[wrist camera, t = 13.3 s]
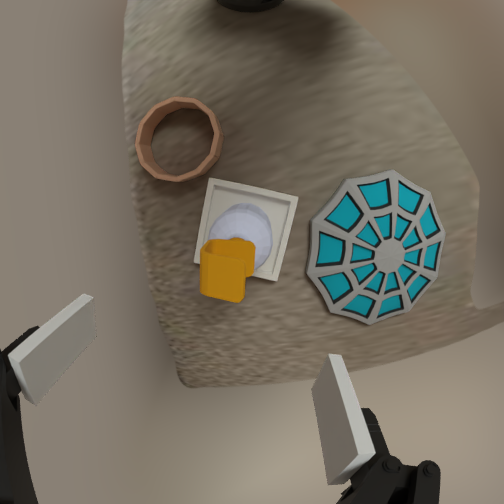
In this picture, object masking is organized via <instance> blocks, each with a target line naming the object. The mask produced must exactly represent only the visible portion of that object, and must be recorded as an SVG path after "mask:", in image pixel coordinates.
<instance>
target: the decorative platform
mask: <svg viewBox="0 0 504 504" xmlns="http://www.w3.org/2000/svg"><path fill="white" fill-rule="evenodd" d="M445 235H446V233H445V231H444V228H443V226H442V224H441V221H440V219H439V217H438V214H437V211H436V208H435V205H434V202H433V199H432V196H431V193H430V192H429V191H427V190H425V189H423V188H421V187H419V186H417V185H415V184H414V183H412V182H410V181H409V180H407V179H406V178H404V177H403V176H401V175H400V174H399V173H397V172H396V171H394V170H393V169H389V170H386V171H383V172H380V173H377V174H373V175H369V176H364V177H358V178H349V179H344V180H343V181H342V183H341V184H340V186H339V187H338V189H337V190H336V192H335V193H334V194H333V196H332V197H331V198H330V200H329V201H328V202H327V203H326V204H325V205H324V206H323V207H322V208H321V210H320V211H319V212H318V213H317V214H316V215H315V216H314V217H312V218H311V219H310V249H309V256H308V261H307V266H306V273H307V275H308V276H309V277H310V279H311V280H312V281H313V283H314V284H315V285H316V287H317V288H318V290H319V291H320V293H321V294H322V296H323V298H324V300H325V302H326V304H327V306H328V308H329V311H330V312H331V313H335V314H340V315H344V316H348V317H351V318H354V319H357V320H359V321H362V322H364V323H366V324H368V325H371V324H373V323H376V322H378V321H380V320H383V319H385V318H388V317H391V316H394V315H398V314H401V313H405V312H409V311H410V310H411V308H412V307H413V306H414V304H415V303H416V302H417V300H418V299H419V298H420V297H421V295H422V294H423V293H424V292H425V291H426V290H427V288H428V287H429V286H430V285H431V284H432V283H433V282H434V281H435V280H436V279H437V276H438V270H439V263H440V258H441V253H442V248H443V244H444V239H445Z"/></svg>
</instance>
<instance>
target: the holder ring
mask: <svg viewBox="0 0 504 504" xmlns="http://www.w3.org/2000/svg"><path fill="white" fill-rule="evenodd" d="M181 108H190V109H198V110H201V111H203V112H204V113H205V114H206V115H208V116H209V118H210V121H211V124H212V127H213V130H214V137H213V142H212V146H211V150H210V154H209V155H208V156H207V157H206V158H205V160H204V161H203V162H202V163H201V164H200V165H199V166H198V168H197V169H196V170H193V171H191V172H188V173H185V174H183V175H180V176H178V175H172V174H168V173H166V172H165V171H164V170H163V169H162V168H161V167H160V166H159V165H157V164H156V163H155V160H154V157H153V153H152V150H151V147H150V146H151V141H152V137H153V132H154V129H155V127H156V126H157V125H158V124H159V122H160V121H161V120H162V119H163V118H164V117H165V115H167V114H169V113H171V112H174V111H176V110H178V109H181ZM140 123H141V124H140ZM140 123H139V127H138V131H137V136H136V140H135V147H136V151H137V154H138V158H139V161H140V164H141V165H142V166H143V167H144V168H145V169H146V170H147V171H148V172H149V173H150V174H151V175H153V176H154V177H155V178H157V179H163V180H168V181H174V182H182V181H188V180H190V179H193V178H196V177H199V176H201V175H204V174H206V173H207V171H208V170H209V169H210V168H211V167H212V166H213V165H214V164H215V162H216V161H217V160H218V159H219V158H218V157H220V153H221V149H222V145H223V140H224V135H223V132H222V129H221V126H220V123H219V120H218V118H217V116H216V115H215V114H214V113H213V111H211V110H210V109H209V108H208V107H206V106H205V105H204V104H203V103H201V102H200V101H199V100H197V99H196V98H187V97H176V96H175V97H172V98H169V99H167V100H165V101H163V102H160V103H158V104H156V105H154V106H153V107H152V108H151V109H150V111H149V112H148V113H147V114H146V115H145V117H144V118H143V119H142V120H141V122H140Z"/></svg>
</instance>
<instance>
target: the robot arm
mask: <svg viewBox="0 0 504 504" xmlns="http://www.w3.org/2000/svg"><path fill="white" fill-rule="evenodd" d="M217 1H218V2H219V3H220V4H222V5H223V6H225V7H227V8H229V9H232V10H236V11H242V12H257V11H264V10H268V9H271V8H273V7H275V6H277V5H279V4H280V3H282V2H283V1H284V0H217ZM96 337H97V336H96V323H95V308H94V297H92V296H89V295H86V294H82V295H81V296H80V297H78V298H77V299H76V300H75V301H73V302H72V303H71V304H69V305H68V306H67V307H65V308H64V309H63V310H61V311H60V312H59V313H58V314H56V315H55V316H54V317H52V318H51V319H50V320H49V321H47V322H46V323H45V324H44V325H43V326H41V327H38V326H36V327H33V328H30V329H28V330H27V331H26V332H25V333H23V335H21V336H20V337H19V338H18V339H16V340H15V341H14V342H13V343H11V344H10V345H9V346H8V347H7V348H5V349H4V350H3V351H2V352H1V350H0V504H38V501H37V498H36V494H35V491H34V487H33V483H32V480H31V475H30V471H29V467H28V462H27V457H26V452H25V445H24V439H23V431H22V422H21V411H20V398H19V395H18V394H19V393H20V392H21V391H22V393H23V395H24V397H25V399H26V400H28V401H30V402H31V403H32V404H34V405H35V406H37V404H38V403H39V402H40V401H41V400H42V398H43V397H44V396H45V395H46V393H47V392H48V391H49V390H50V389H51V388H52V386H53V385H54V384H55V383H56V382H57V381H58V379H59V378H60V377H61V376H62V375H63V374H64V372H65V371H66V370H67V369H68V368H69V367H70V366H71V364H72V363H73V362H74V361H75V360H76V359H77V358H78V357H79V355H80V354H81V353H82V352H83V351H84V350H85V349H86V348H87V346H88V345H89V344H90V343H91V342H92V341H93V340H94V339H95V338H96ZM312 395H313V401H314V406H315V411H316V416H317V422H318V428H319V434H320V439H321V446H322V451H323V457H324V464H325V470H326V476H327V483H328V485H338V484H344V483H345V482H347V481H348V480H349V479H350V480H351V486H350V487H348V488H347V489H346V490H345V491H343V492H342V493H341V494H342V497H341V498H340V499H339V501H338V502H337V503H336V504H439V493H440V468H439V467H438V465H437V464H436V463H435V462H433V461H430V460H429V461H428V460H426V461H423V462H421V463H420V464H419V465H418V466H409V465H403V464H402V463H401V462H400V460H399V459H398V458H396V457H395V456H391V455H390V453H389V451H388V448H387V445H386V443H385V440H384V437H383V435H382V432H381V429H380V427H379V425H378V421H377V419H376V416H375V415H374V414H373V412H372V411H371V410H370V409H369V408H360V405H359V402H358V400H357V397H356V394H355V391H354V388H353V386H352V383H351V380H350V378H349V375H348V372H347V370H346V367H345V364H344V362H343V359H342V357H341V355H335V354H328V355H327V357H326V360H325V362H324V364H323V366H322V368H321V371H320V373H319V375H318V377H317V379H316V381H315V383H314V385H313V387H312Z"/></svg>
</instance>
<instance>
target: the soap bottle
mask: <svg viewBox="0 0 504 504" xmlns="http://www.w3.org/2000/svg"><path fill="white" fill-rule="evenodd" d="M272 246H273V238H272V229H271V223H270V220H269V218H268V216H267V214H266V213H265V212H264V211H263V210H262V209H261V208H260V207H258V206H255V205H253V204H251V203H239V204H236V205H233V206H231V207H230V208H228V209H227V210H226V211H225V212H223V213H222V214H221V215H220V216H219V217H218V218H217V219H216V220H215V221H214V223H213V224H212V226H211V228H210V230H209V235H208V241H207V242H206V243H205V244H204V245H203V247H202V248H201V249H200V292H201V293H202V294H204V295H206V296H209V297H214V298H218V299H222V300H227V301H231V302H236V303H238V302H241V301H242V300H243V298H244V297H245V281H246V277H250V276H252V274H253V273H254V270H255V269H257V268H258V267H260V266H261V265H263V264H264V263H265V261H266V260H267V259H268V257H269V256H270V254H271V250H272Z"/></svg>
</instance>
